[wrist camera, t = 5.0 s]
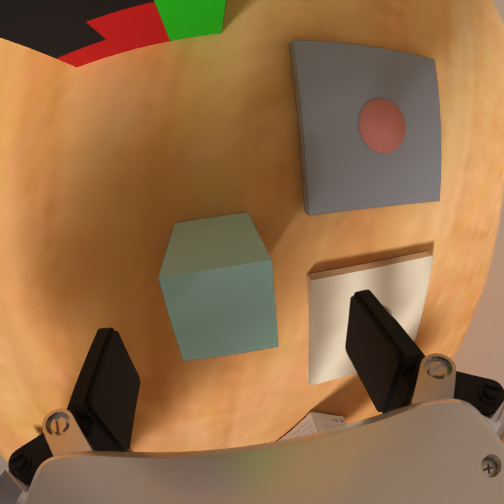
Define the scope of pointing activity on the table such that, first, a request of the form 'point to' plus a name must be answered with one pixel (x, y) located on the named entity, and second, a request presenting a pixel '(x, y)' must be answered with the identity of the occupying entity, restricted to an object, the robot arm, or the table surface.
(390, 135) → the slate mat
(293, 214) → the table surface
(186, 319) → the teal block
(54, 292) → the table surface
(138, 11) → the puzzle toy
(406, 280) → the birch pad
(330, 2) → the table surface
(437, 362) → the robot arm
